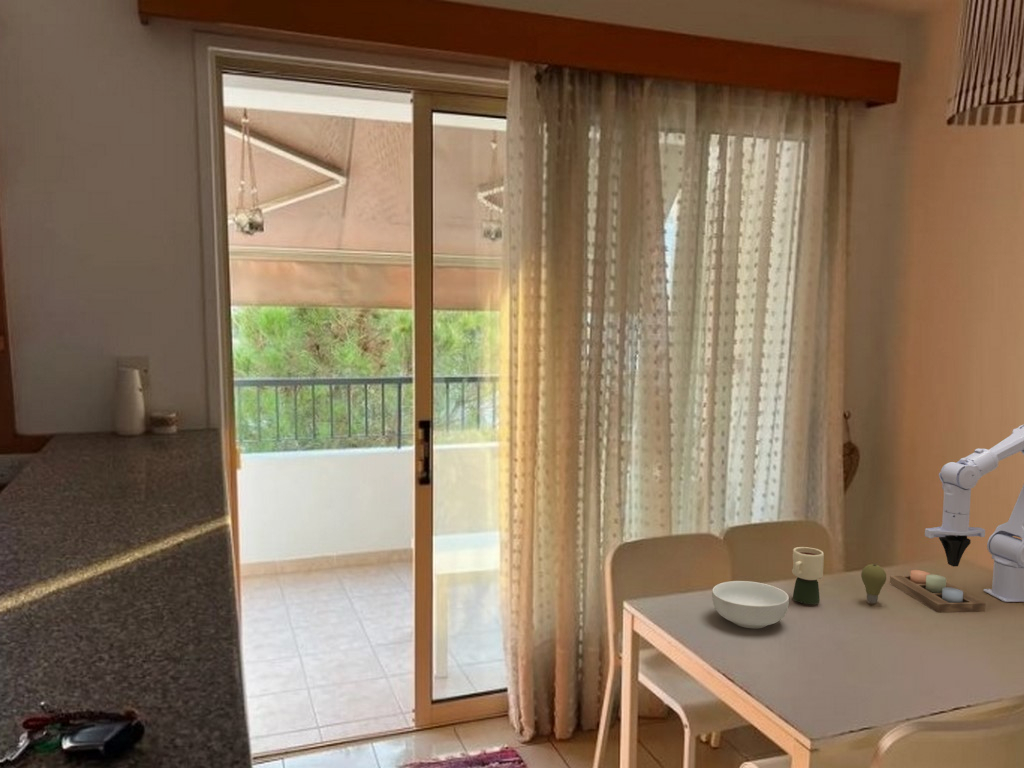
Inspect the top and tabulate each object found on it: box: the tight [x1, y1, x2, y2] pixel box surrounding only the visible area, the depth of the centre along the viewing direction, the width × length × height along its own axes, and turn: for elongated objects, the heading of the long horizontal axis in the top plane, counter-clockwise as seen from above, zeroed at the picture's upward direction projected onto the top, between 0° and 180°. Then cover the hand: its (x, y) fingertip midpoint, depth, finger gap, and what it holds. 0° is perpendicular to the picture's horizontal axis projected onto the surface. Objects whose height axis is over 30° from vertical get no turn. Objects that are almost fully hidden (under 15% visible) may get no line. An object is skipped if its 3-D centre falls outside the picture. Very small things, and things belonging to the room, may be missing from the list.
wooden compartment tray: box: [889, 575, 986, 613], centre depth 193 cm, size 12×20×2 cm, turn 5°
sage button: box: [926, 574, 947, 593], centre depth 193 cm, size 4×4×4 cm
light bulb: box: [860, 563, 887, 606], centre depth 188 cm, size 6×6×10 cm
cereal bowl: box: [711, 580, 790, 629], centre depth 176 cm, size 17×17×7 cm
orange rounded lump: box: [909, 569, 931, 584], centre depth 200 cm, size 4×4×4 cm
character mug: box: [791, 546, 825, 605], centre depth 188 cm, size 11×7×13 cm, turn 129°
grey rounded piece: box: [942, 587, 964, 603], centre depth 187 cm, size 4×4×4 cm
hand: (952, 565), depth 189 cm, fingers closed
